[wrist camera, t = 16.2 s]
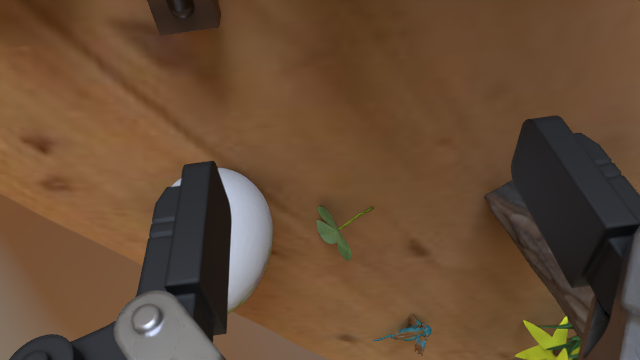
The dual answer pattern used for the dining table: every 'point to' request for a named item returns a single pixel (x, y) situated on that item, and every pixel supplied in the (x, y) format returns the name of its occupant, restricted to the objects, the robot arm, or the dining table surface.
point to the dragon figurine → (413, 334)
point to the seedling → (334, 232)
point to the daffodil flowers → (552, 343)
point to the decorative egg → (246, 236)
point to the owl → (539, 254)
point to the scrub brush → (185, 15)
